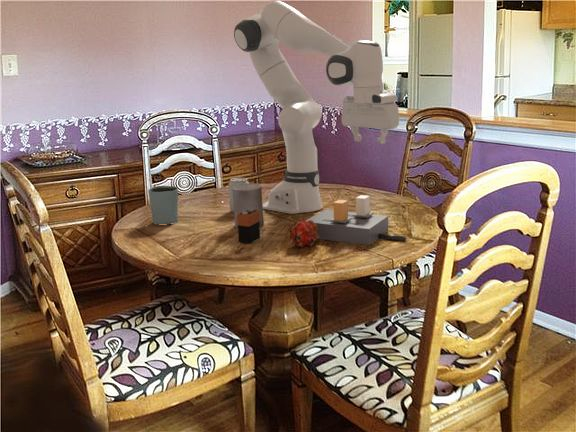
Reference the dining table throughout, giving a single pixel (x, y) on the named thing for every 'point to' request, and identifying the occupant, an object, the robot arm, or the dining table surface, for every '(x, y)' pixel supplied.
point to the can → (233, 182)
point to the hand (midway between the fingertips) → (369, 142)
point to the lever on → (363, 207)
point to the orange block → (341, 211)
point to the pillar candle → (248, 199)
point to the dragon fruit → (304, 233)
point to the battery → (248, 226)
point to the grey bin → (164, 204)
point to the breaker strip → (353, 228)
